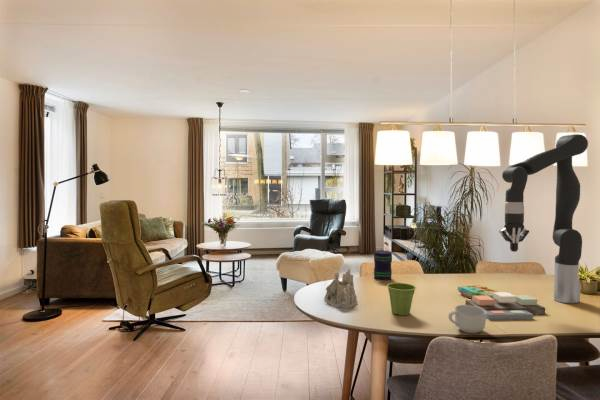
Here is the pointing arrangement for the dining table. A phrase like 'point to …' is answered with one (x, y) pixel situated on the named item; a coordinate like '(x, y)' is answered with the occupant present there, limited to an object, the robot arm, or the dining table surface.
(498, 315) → the card
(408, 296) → the plant pot
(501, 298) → the key cream
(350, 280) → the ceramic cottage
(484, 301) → the key terracotta
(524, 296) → the key sage
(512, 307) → the keypad base
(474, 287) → the puzzle game
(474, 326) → the teacup
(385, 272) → the storage jar
